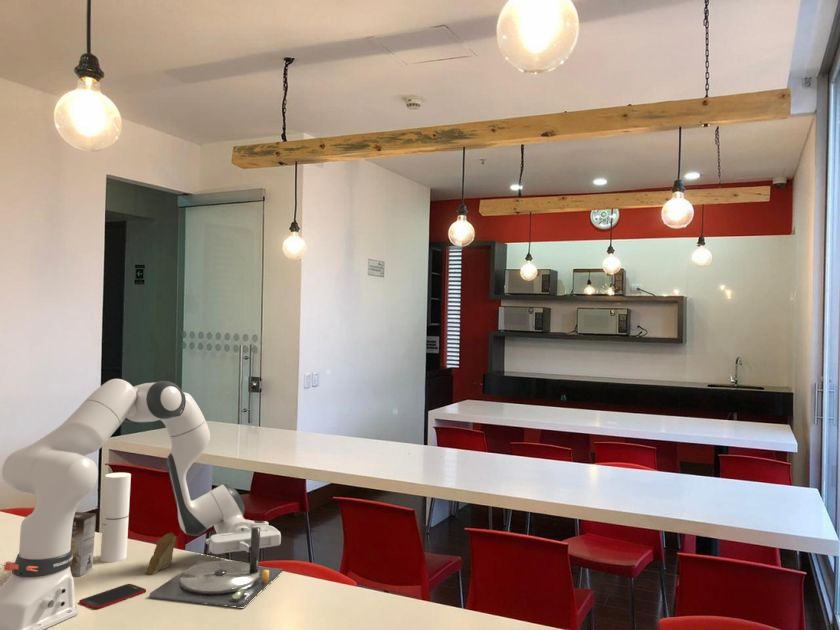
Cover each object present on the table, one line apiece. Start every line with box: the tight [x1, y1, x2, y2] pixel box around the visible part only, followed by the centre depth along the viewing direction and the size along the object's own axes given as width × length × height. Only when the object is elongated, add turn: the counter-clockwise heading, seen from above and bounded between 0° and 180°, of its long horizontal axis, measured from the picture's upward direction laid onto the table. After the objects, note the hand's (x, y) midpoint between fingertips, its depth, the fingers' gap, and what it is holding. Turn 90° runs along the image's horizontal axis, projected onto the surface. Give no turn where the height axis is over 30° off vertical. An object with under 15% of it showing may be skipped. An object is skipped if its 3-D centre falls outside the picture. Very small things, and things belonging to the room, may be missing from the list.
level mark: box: [262, 570, 269, 583], centre depth 181 cm, size 2×2×3 cm
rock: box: [145, 532, 177, 575], centre depth 192 cm, size 11×9×10 cm
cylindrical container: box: [99, 472, 132, 563], centre depth 199 cm, size 7×7×25 cm
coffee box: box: [70, 511, 97, 577], centre depth 187 cm, size 9×6×16 cm
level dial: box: [180, 527, 260, 594], centre depth 181 cm, size 21×21×14 cm
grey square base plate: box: [149, 559, 283, 607], centre depth 181 cm, size 26×26×3 cm
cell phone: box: [78, 583, 147, 611], centre depth 170 cm, size 8×15×1 cm, turn 149°
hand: (253, 548), depth 185 cm, fingers closed, pressing on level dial
